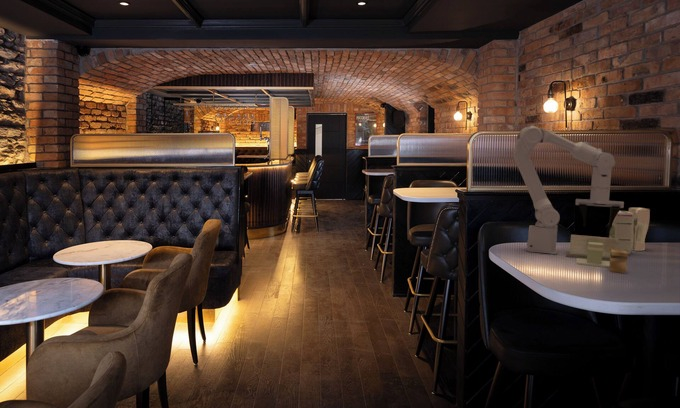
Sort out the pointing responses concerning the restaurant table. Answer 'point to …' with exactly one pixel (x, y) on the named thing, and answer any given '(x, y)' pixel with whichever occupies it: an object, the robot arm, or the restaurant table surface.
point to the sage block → (594, 252)
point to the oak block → (618, 261)
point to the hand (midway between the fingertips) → (597, 227)
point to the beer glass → (639, 227)
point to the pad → (584, 262)
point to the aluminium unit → (581, 246)
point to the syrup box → (623, 230)
